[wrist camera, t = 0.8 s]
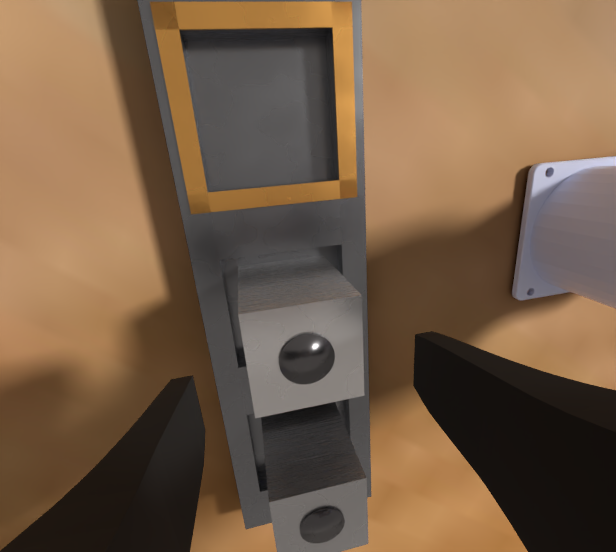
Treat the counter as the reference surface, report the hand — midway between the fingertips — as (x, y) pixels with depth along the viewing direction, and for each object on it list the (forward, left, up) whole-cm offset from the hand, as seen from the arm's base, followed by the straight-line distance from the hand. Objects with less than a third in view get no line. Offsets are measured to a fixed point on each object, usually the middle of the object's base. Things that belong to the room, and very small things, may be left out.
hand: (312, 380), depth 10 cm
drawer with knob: (0, 0, -7) cm, 7 cm away
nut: (0, +8, -7) cm, 11 cm away
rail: (0, 0, -8) cm, 8 cm away
